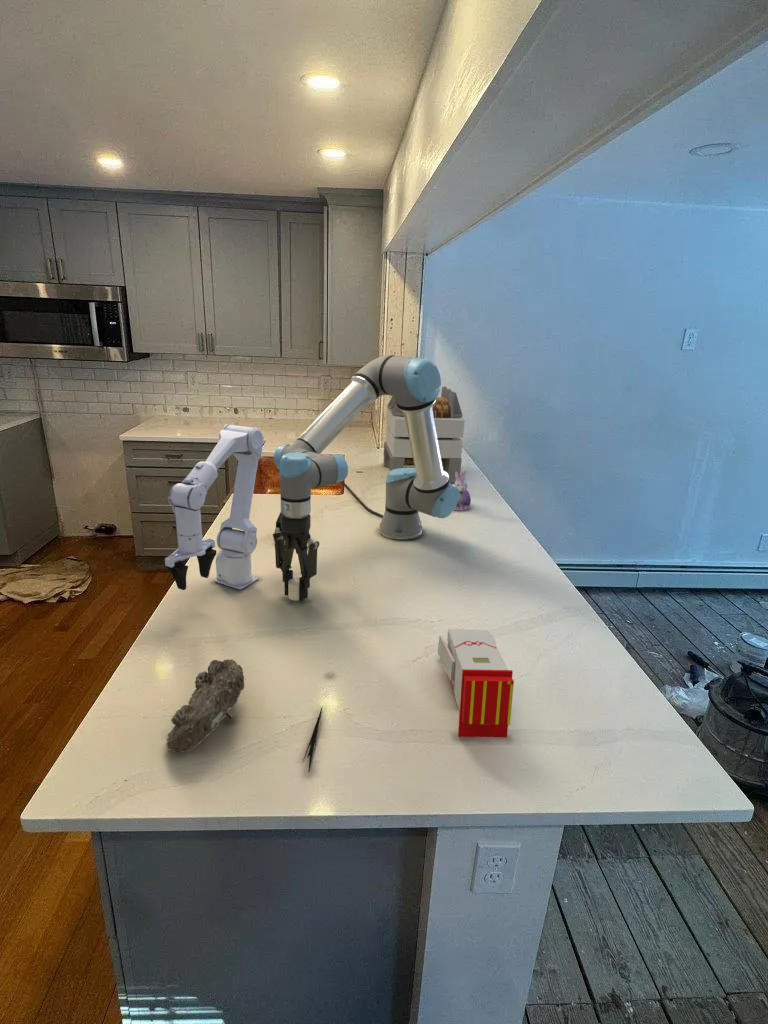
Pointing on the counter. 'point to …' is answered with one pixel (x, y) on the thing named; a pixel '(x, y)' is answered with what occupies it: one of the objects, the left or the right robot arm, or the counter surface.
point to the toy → (478, 682)
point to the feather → (313, 740)
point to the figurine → (462, 492)
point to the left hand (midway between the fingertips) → (193, 582)
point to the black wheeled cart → (278, 523)
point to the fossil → (206, 705)
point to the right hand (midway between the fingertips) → (296, 595)
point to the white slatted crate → (446, 429)
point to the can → (293, 589)
